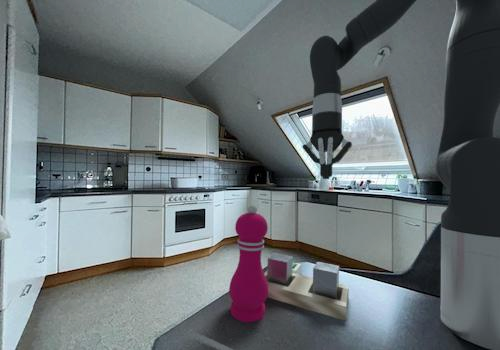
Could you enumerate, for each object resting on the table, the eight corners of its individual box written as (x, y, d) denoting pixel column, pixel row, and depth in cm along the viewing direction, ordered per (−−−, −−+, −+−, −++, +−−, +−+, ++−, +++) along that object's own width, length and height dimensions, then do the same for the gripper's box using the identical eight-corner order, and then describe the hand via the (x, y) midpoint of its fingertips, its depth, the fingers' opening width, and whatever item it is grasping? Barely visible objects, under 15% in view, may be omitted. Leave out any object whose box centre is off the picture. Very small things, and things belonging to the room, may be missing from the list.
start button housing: (300, 275, 57) (301, 264, 57) (295, 283, 53) (296, 270, 53) (282, 271, 60) (282, 260, 60) (275, 278, 55) (276, 266, 55)
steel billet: (291, 287, 49) (292, 256, 49) (285, 296, 45) (287, 262, 45) (273, 282, 51) (274, 253, 51) (266, 290, 47) (267, 258, 47)
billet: (338, 300, 44) (339, 265, 45) (336, 310, 40) (336, 273, 41) (316, 294, 46) (317, 261, 47) (312, 304, 43) (313, 268, 43)
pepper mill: (268, 328, 36) (273, 207, 36) (225, 326, 36) (231, 205, 37) (266, 304, 43) (270, 203, 44) (230, 302, 43) (234, 202, 44)
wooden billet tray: (348, 300, 46) (348, 286, 46) (345, 324, 38) (345, 306, 38) (269, 279, 54) (270, 267, 54) (253, 295, 46) (254, 281, 46)
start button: (295, 272, 57) (295, 263, 57) (292, 276, 54) (292, 266, 55) (285, 270, 58) (285, 261, 58) (281, 273, 56) (282, 264, 56)
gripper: (354, 115, 58) (354, 179, 57) (305, 121, 64) (304, 179, 63) (353, 106, 52) (353, 178, 51) (298, 113, 58) (297, 178, 57)
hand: (326, 178), depth 57 cm, fingers closed
